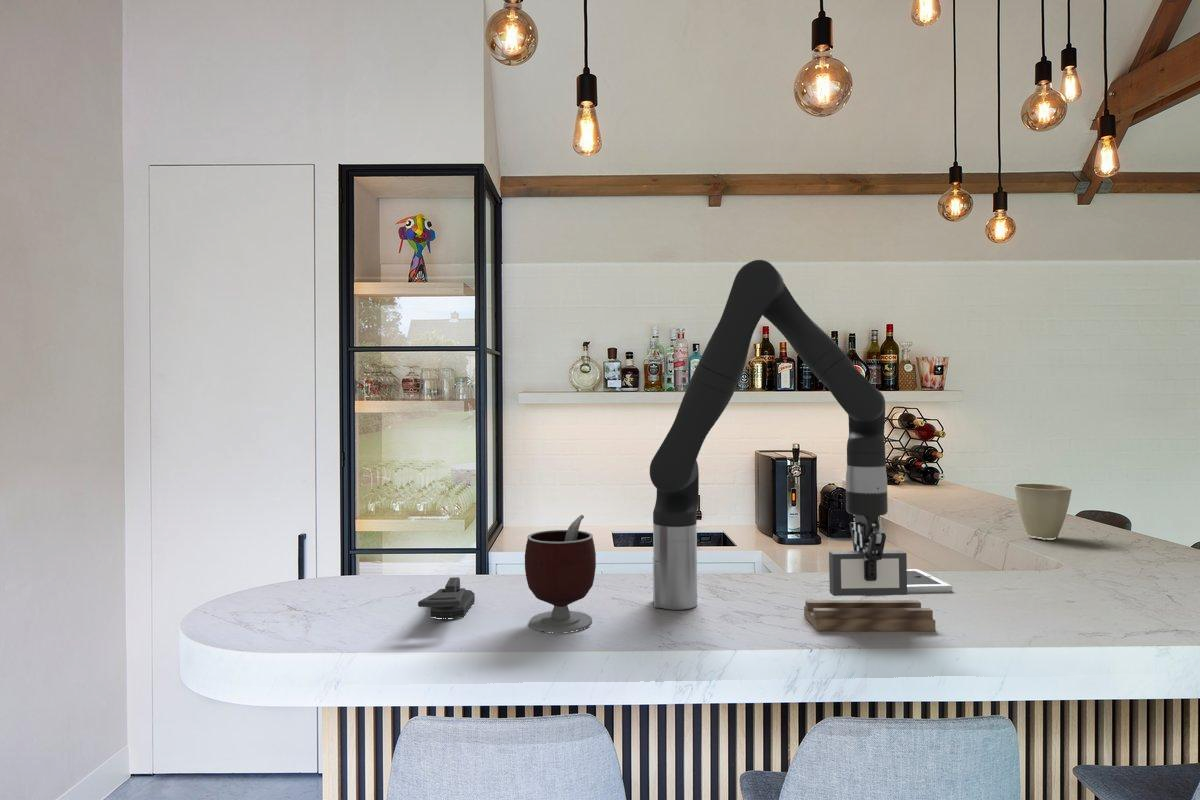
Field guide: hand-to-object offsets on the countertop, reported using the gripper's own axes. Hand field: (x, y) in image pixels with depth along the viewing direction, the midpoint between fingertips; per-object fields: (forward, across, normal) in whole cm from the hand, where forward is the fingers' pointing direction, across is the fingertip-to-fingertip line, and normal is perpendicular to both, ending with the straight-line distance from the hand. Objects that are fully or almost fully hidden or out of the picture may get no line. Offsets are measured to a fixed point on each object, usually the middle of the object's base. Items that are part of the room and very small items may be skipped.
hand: (867, 578), depth 138 cm
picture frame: (+10, +30, -16) cm, 35 cm away
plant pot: (+9, +83, -82) cm, 117 cm away
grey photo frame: (+3, 0, 0) cm, 3 cm away
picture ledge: (+9, 0, 0) cm, 9 cm away
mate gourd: (+9, +1, +59) cm, 60 cm away
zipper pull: (+9, +5, +83) cm, 83 cm away
